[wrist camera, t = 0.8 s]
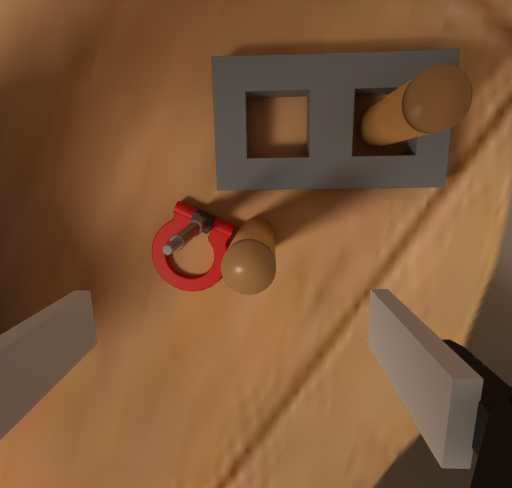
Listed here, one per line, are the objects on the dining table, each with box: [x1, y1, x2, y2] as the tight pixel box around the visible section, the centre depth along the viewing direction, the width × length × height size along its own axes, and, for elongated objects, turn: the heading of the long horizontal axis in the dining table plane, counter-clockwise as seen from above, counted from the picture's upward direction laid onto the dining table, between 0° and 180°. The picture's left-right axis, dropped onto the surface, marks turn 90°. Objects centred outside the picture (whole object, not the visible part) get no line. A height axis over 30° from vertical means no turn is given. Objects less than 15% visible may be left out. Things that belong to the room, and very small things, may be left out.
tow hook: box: [152, 201, 235, 291], centre depth 30 cm, size 8×13×9 cm
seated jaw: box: [357, 64, 472, 147], centre depth 26 cm, size 4×4×12 cm
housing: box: [212, 49, 460, 190], centre depth 31 cm, size 22×12×2 cm, turn 91°
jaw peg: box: [221, 219, 276, 295], centre depth 29 cm, size 4×4×12 cm
